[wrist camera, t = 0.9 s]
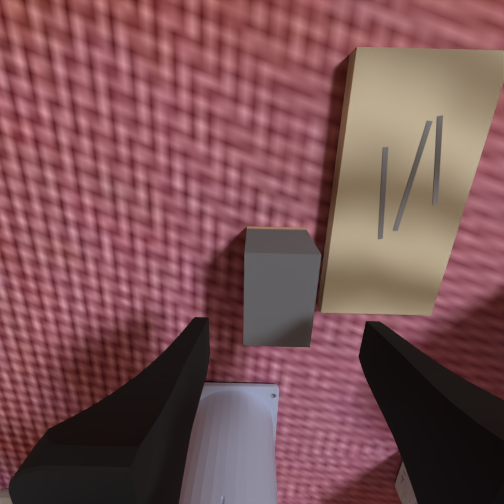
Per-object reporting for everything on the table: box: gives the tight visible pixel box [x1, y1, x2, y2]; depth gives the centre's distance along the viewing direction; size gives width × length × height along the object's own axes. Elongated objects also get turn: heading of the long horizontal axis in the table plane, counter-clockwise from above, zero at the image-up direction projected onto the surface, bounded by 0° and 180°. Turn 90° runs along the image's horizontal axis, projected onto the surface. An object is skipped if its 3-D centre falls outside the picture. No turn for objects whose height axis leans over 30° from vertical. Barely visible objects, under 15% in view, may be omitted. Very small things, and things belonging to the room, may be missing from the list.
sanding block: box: [243, 226, 321, 347], centre depth 18 cm, size 6×4×5 cm, turn 179°
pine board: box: [317, 47, 504, 315], centre depth 17 cm, size 16×8×1 cm, turn 179°
